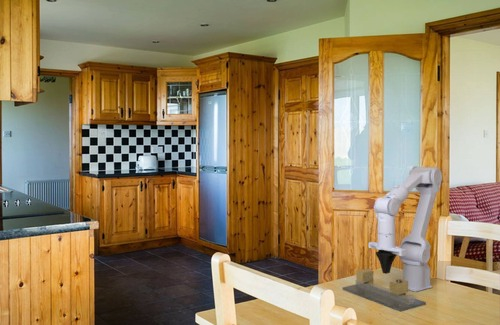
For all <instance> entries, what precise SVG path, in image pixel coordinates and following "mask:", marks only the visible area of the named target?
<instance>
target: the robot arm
mask: <svg viewBox="0 0 500 325" xmlns="http://www.w3.org/2000/svg"><path fill="white" fill-rule="evenodd" d="M442 180H443V174H442V170H441V169H440V168H439V167H437V166H435V167H429V166H416V165H415V166H412V167H411V169H410V170H409V171H408V176H407V177H406V178H405V180H404V181H403V182H402V183H401V184H396V185H395V184H394V186H393V187H392V188H391V190H389V191H388V192H387V193H386V194H385V195H384V196H380V197H378V198H376V200H375V202H374V205H373V211H374V212H375V218H376V219H377V242H375V241H369V242H368V248H369V249H374V250H378V251H376V252H375V255H376V258H377V259H378V261H379V264H380V266H381V271H382V274H386V275H387V274H389V273H391V269H392V266H393V262H394V260H395V259H396V257H397V256H398V258H399V259H400V260H401V261H400V262H401V263H403V264H402V268H403V269H402V274H403V275H402V280H405V281H408V291H411V292H414V293H415V292H419V291H424V290H428V289H432V288H433V285H431V267H430V265H429V264H428V262H429V260H430V257H431V248H432V245H431V244H430V242H429V241H428V240H427V239H426V236H427V232H428V228H429V224H430V219H431V215H432V214H433V213H432V212H433V209H434V204H435V200H436V197H437V193H439V191H440V188H441V184H442ZM414 188H415V190H416V191H417V192H419V193H420V196H419V200H418V204H417V208H416V212H415V214H414V219H413V222H412V227H411V230H410V234H408V235H407V236H405V237H403V238H402V241H401V243H400V245H399V246H397V245H396V215H397V214H398V213H399V210H400V207H401V206H402V204H403V203H404V202H406V200H407V199H408V198H409V192H411V191H412V190H413V189H414Z"/></svg>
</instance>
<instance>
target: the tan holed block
mask: <svg viewBox="0 0 500 325" xmlns="http://www.w3.org/2000/svg"><path fill="white" fill-rule="evenodd" d="M389 289H390V293H393V294H396V295H400V294H406V295H407V293H409V290H408V281H405V280H403V278H402V279H400V278H399V279H394V280H391V281H390V280H389Z"/></svg>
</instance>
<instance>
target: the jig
mask: <svg viewBox="0 0 500 325" xmlns="http://www.w3.org/2000/svg"><path fill="white" fill-rule="evenodd" d="M355 279H356V280H355V284H352V285H348V286H347V285H346V286H343V287H342V291H345V292H348V293H350V294H353V295H356V296H359V297H360V298H364V299H366V300H369V301H371V302H374V303H376V304H380V305H382V306H384V307H387V308H390V309H393V310H396V311H398V312H404V311H407V310H410V309H415V308H419V307H423V306H426V301H423V300H421V299H419V298H415V297H414V296H411V295H408V294H407V293H406V294H400V295H396V294H393V293H390V288H388V287H385V286H382V285H379V284H376V283H374V270H372V269H369V268H364V269H359V270H356V273H355Z"/></svg>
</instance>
